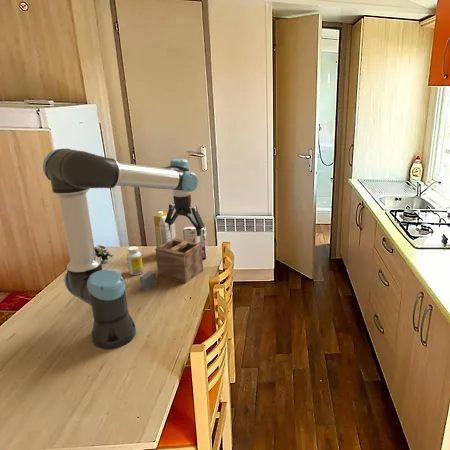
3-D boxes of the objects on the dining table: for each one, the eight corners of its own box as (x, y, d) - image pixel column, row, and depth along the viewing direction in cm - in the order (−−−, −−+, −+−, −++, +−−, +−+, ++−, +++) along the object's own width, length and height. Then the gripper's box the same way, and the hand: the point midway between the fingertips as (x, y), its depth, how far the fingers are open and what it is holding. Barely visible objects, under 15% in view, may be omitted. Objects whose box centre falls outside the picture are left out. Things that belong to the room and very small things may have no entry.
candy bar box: (208, 255, 194) (206, 225, 189) (206, 259, 190) (204, 229, 184) (187, 254, 196) (185, 225, 191) (185, 258, 192) (182, 228, 186)
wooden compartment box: (185, 283, 166) (183, 254, 162) (158, 275, 174) (155, 248, 169) (203, 270, 177) (201, 243, 173) (176, 264, 185) (174, 238, 181)
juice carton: (167, 250, 203) (163, 208, 195) (178, 253, 198) (174, 210, 190) (155, 256, 195) (150, 213, 187) (165, 259, 191) (161, 215, 183)
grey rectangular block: (146, 291, 161) (144, 278, 159) (141, 289, 162) (139, 277, 160) (156, 284, 167) (155, 272, 165) (151, 282, 168) (150, 270, 166)
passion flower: (105, 269, 195) (116, 251, 193) (95, 275, 184) (107, 256, 182) (87, 257, 195) (98, 239, 193) (77, 263, 184) (88, 243, 182)
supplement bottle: (146, 271, 179) (143, 246, 175) (136, 276, 174) (133, 251, 170) (136, 268, 183) (133, 244, 178) (126, 273, 177) (122, 249, 173)
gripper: (210, 195, 158) (213, 241, 165) (164, 190, 170) (169, 233, 177) (200, 199, 152) (203, 247, 159) (154, 194, 164) (158, 238, 171)
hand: (185, 240), depth 168 cm, fingers open, 13 cm apart
